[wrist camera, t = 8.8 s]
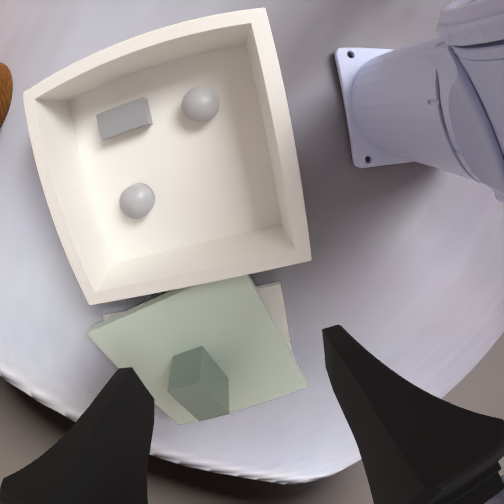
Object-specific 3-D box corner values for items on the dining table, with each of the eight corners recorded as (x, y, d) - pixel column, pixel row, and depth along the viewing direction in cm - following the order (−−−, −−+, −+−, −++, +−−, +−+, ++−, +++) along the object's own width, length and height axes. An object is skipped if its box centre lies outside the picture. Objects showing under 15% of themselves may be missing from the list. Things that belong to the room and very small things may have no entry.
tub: (256, 34, 14) (264, 7, 10) (293, 230, 19) (311, 260, 15) (61, 95, 14) (22, 93, 10) (112, 270, 19) (89, 305, 15)
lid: (240, 252, 19) (245, 296, 14) (304, 371, 24) (317, 418, 19) (94, 319, 20) (70, 364, 16) (181, 410, 26) (176, 454, 21)
